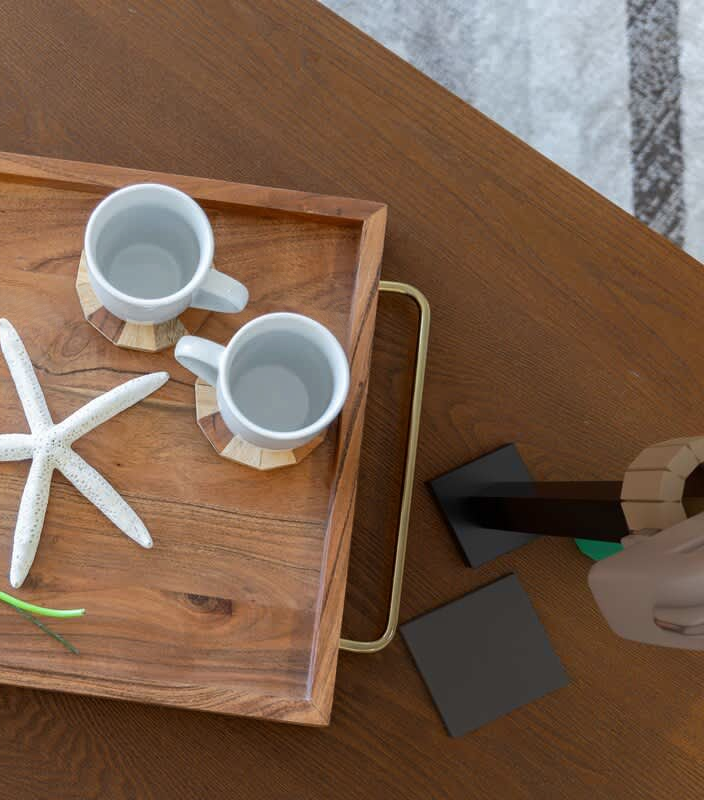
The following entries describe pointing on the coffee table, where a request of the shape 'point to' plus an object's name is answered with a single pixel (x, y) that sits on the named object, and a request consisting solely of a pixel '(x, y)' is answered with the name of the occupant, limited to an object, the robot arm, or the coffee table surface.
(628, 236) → the coffee table surface
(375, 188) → the coffee table surface
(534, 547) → the coffee table surface
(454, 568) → the coffee table surface
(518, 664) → the mat
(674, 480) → the tan segmented ring
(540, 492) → the stand
